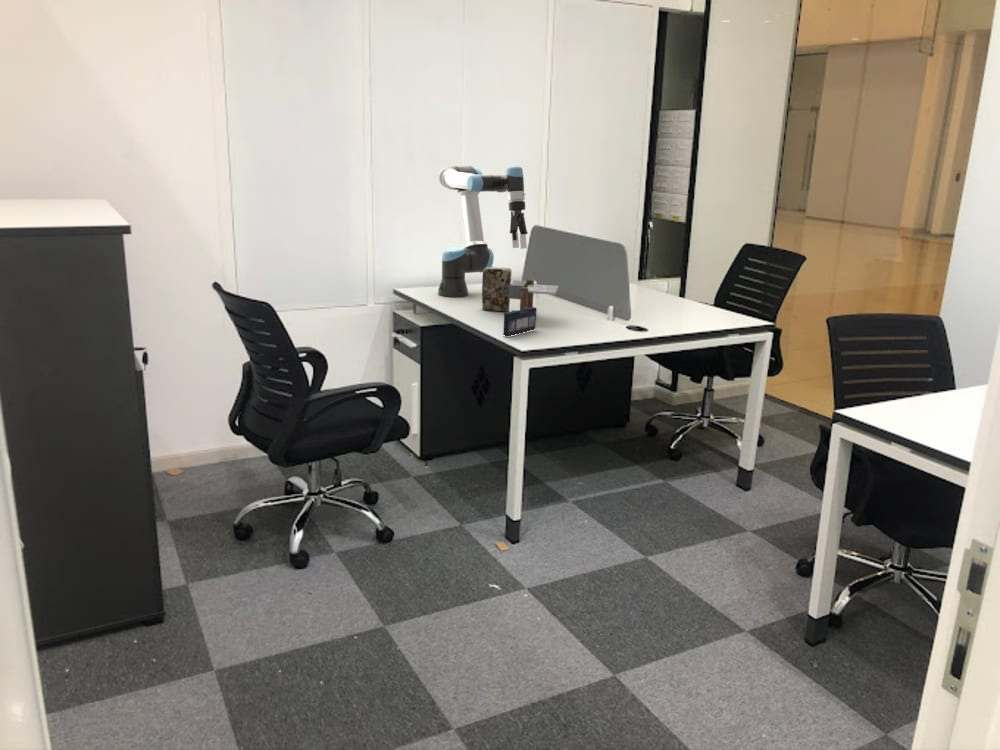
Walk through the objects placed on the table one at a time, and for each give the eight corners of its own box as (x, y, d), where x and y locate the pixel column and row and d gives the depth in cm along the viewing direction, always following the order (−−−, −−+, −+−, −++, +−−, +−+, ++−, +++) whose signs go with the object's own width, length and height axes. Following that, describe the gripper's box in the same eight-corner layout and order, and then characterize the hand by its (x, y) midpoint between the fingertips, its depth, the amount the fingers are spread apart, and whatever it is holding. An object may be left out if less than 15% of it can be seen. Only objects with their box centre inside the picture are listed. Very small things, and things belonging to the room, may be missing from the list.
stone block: (509, 309, 377) (511, 267, 371) (509, 312, 370) (511, 270, 364) (482, 308, 377) (483, 266, 371) (481, 311, 371) (482, 268, 365)
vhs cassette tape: (507, 337, 327) (508, 314, 324) (502, 336, 329) (502, 312, 326) (536, 330, 340) (537, 308, 337) (531, 329, 342) (532, 306, 339)
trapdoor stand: (504, 323, 350) (505, 287, 345) (512, 311, 373) (513, 277, 368) (529, 325, 349) (530, 289, 344) (535, 313, 371) (537, 279, 366)
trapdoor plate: (508, 299, 351) (509, 285, 349) (514, 292, 366) (514, 279, 364) (554, 302, 348) (554, 289, 346) (557, 295, 363) (558, 282, 361)
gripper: (517, 198, 353) (520, 246, 356) (531, 202, 377) (534, 248, 379) (501, 200, 355) (504, 248, 358) (516, 204, 379) (519, 249, 382)
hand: (519, 248), depth 369 cm, fingers open, 13 cm apart
